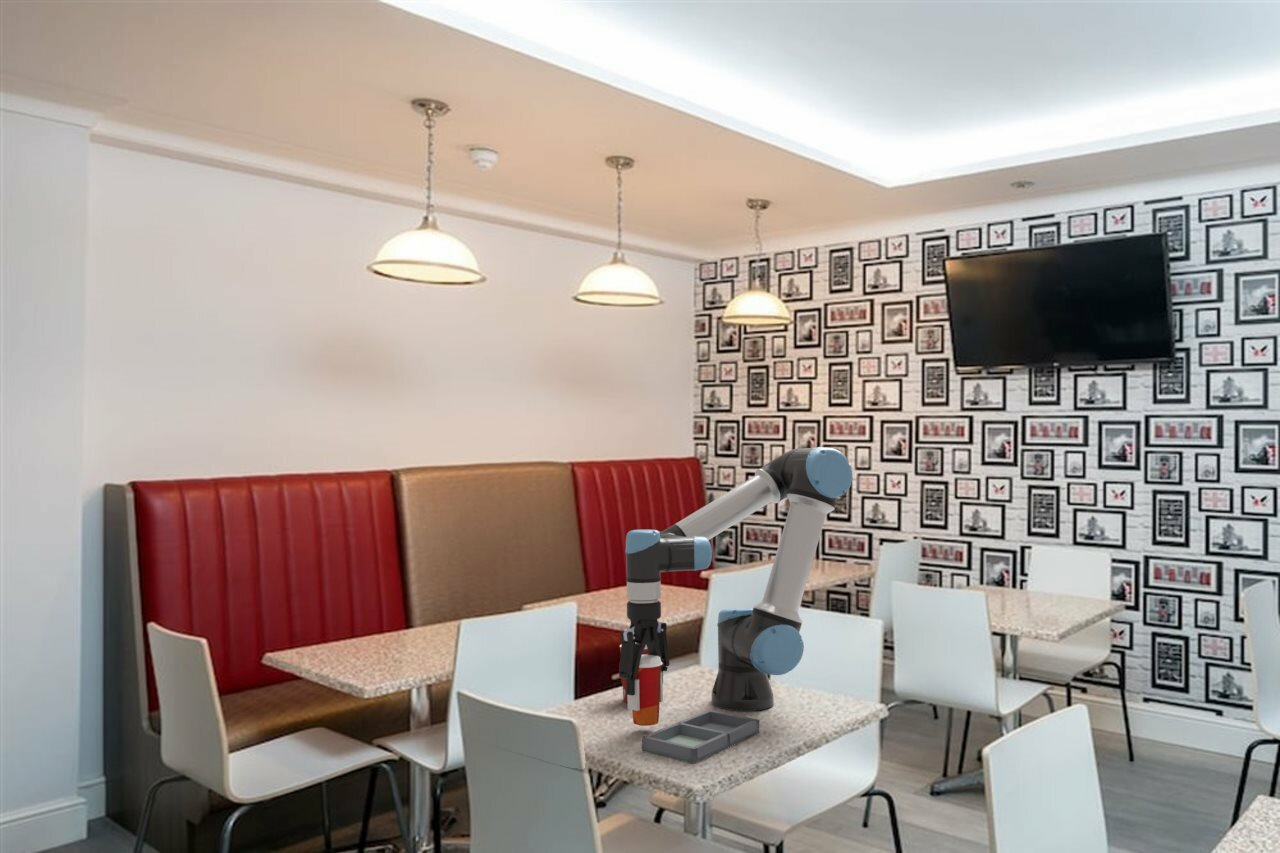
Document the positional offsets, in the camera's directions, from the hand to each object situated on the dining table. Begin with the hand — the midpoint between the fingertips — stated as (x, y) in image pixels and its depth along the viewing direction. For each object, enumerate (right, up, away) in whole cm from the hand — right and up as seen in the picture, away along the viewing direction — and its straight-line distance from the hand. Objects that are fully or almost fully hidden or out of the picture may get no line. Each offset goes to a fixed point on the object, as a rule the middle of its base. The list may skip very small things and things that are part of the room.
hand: (645, 704), depth 194 cm
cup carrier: (+12, -5, -7) cm, 15 cm away
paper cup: (0, -4, 0) cm, 4 cm away
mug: (-3, -7, +24) cm, 25 cm away
